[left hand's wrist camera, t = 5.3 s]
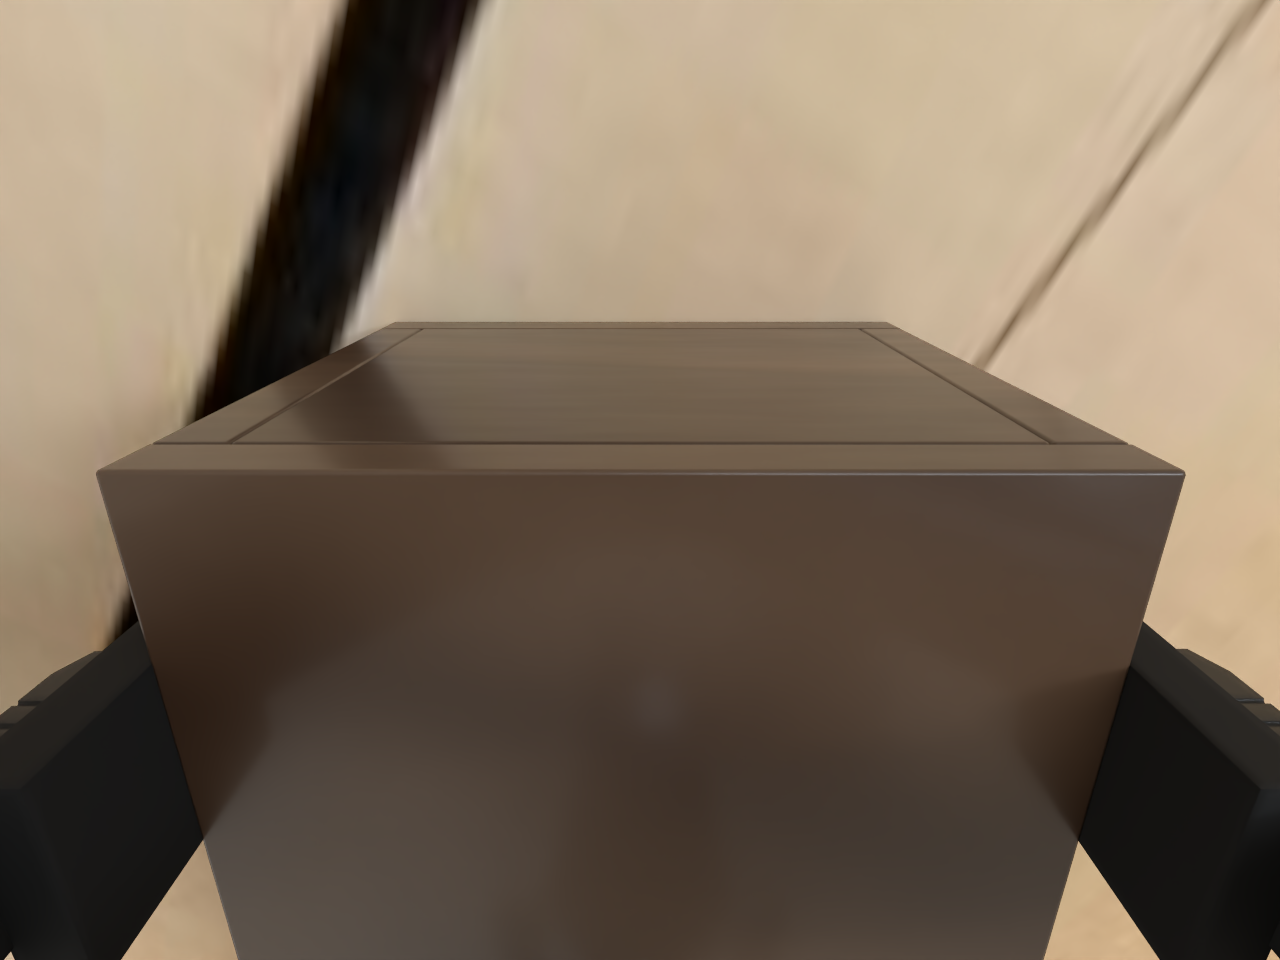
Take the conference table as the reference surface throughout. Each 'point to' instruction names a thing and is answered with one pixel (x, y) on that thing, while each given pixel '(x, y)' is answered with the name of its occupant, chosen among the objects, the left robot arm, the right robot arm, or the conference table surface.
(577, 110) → the conference table surface
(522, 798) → the cabinet
